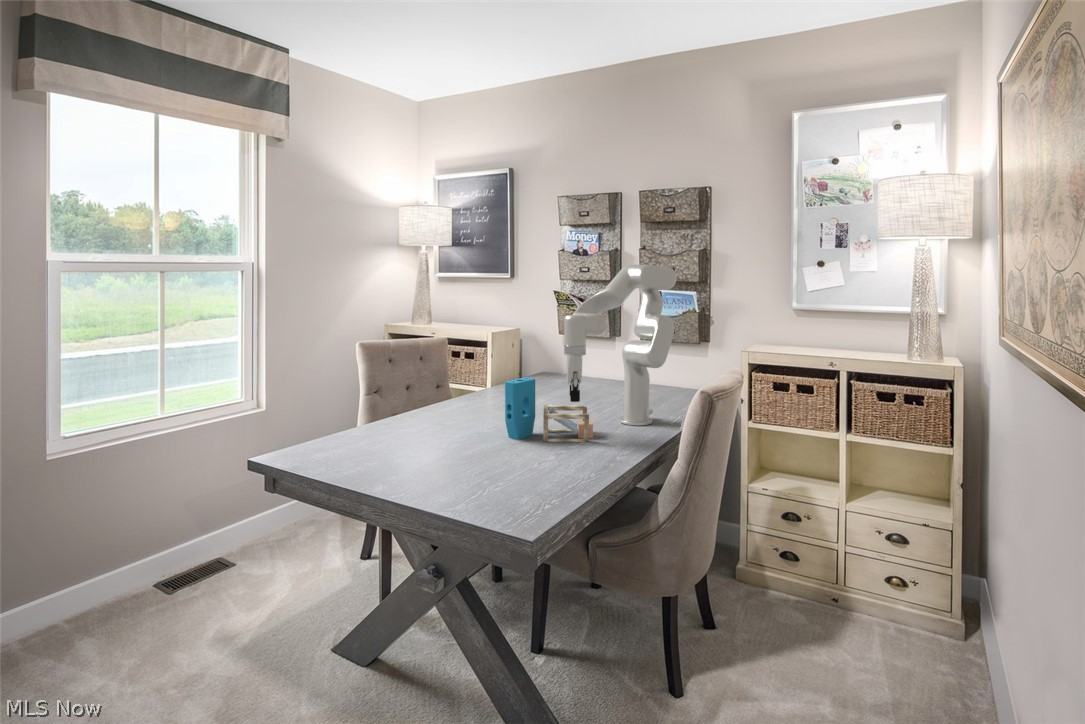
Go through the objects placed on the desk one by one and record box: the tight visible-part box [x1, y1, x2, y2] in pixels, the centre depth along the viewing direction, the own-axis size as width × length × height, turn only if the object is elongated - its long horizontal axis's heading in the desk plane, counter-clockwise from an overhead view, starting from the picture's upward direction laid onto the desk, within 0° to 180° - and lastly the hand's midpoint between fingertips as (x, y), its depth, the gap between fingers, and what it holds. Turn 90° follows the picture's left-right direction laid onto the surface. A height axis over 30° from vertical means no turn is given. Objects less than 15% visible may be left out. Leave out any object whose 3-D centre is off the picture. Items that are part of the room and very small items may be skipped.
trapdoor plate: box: [548, 407, 578, 435], centre depth 225 cm, size 12×10×1 cm
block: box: [504, 377, 536, 440], centre depth 224 cm, size 12×5×20 cm, turn 143°
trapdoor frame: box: [542, 405, 590, 443], centre depth 225 cm, size 16×14×10 cm
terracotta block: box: [577, 420, 594, 439], centre depth 225 cm, size 5×5×5 cm
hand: (574, 398), depth 224 cm, fingers open, 9 cm apart
